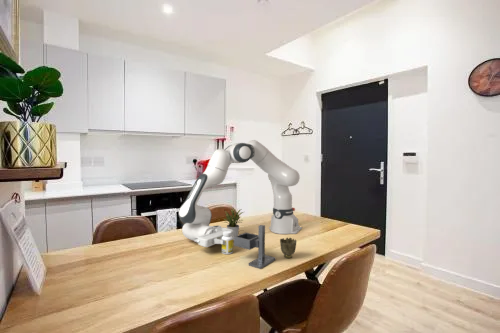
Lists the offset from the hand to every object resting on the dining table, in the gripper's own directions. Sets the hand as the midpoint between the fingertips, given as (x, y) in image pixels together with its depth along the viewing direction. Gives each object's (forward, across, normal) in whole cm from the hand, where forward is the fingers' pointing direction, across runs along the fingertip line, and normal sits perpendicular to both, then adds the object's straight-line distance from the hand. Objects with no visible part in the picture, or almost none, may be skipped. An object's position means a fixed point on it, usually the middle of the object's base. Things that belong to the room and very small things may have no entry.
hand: (228, 240), depth 127 cm
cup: (+25, +12, +6) cm, 28 cm away
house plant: (-14, +22, +6) cm, 27 cm away
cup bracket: (+14, 0, +6) cm, 16 cm away
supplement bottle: (-1, 0, +6) cm, 6 cm away
